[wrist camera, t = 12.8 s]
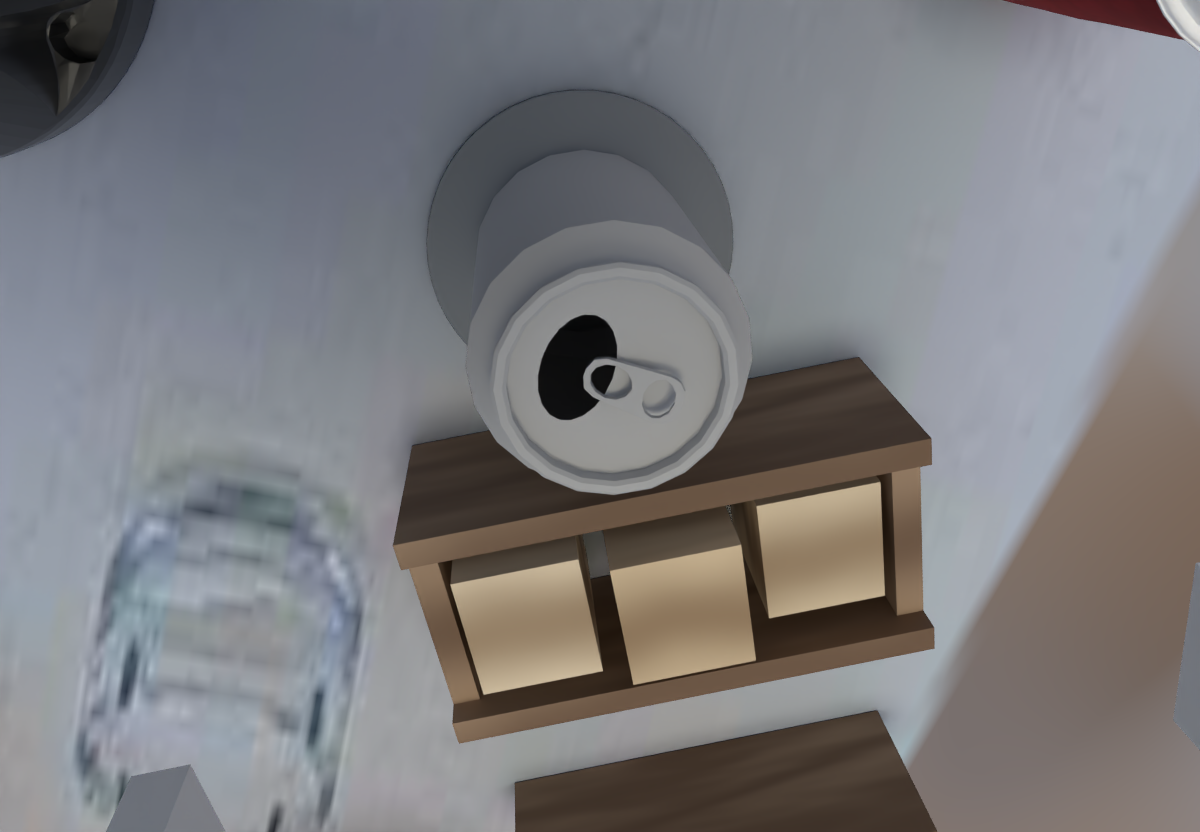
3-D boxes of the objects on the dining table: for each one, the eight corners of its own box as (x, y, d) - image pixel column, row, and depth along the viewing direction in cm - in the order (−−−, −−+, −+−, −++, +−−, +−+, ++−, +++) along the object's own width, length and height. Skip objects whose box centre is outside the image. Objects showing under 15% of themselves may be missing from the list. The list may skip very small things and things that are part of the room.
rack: (412, 445, 37) (392, 545, 30) (858, 357, 37) (931, 438, 30) (519, 797, 46) (521, 930, 39) (878, 725, 46) (937, 846, 39)
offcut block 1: (459, 480, 38) (450, 584, 31) (565, 459, 38) (578, 559, 31) (487, 579, 40) (483, 694, 34) (587, 559, 40) (603, 671, 34)
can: (510, 115, 31) (513, 196, 20) (715, 183, 33) (819, 292, 22) (452, 318, 34) (428, 482, 23) (643, 371, 36) (703, 548, 25)
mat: (391, 124, 31) (389, 126, 31) (711, 61, 31) (714, 62, 31) (468, 411, 36) (467, 416, 36) (744, 356, 36) (747, 361, 36)
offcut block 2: (590, 454, 38) (609, 570, 30) (696, 433, 38) (740, 544, 30) (610, 555, 40) (633, 684, 33) (711, 535, 40) (756, 660, 33)
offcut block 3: (720, 428, 38) (756, 506, 32) (827, 407, 38) (880, 482, 32) (733, 530, 40) (769, 618, 35) (833, 510, 40) (884, 595, 35)
